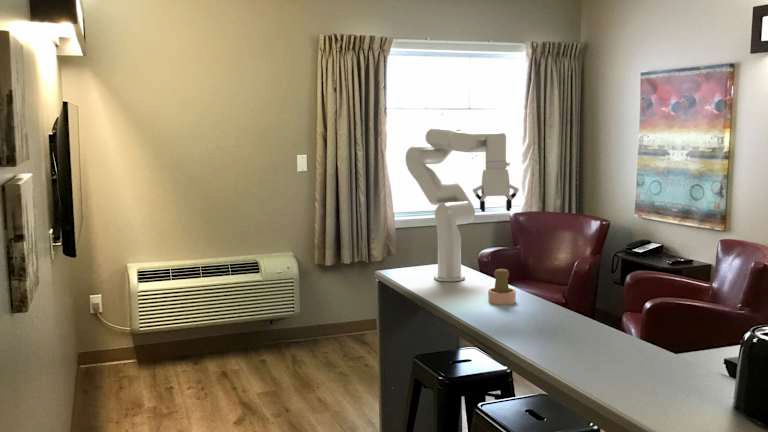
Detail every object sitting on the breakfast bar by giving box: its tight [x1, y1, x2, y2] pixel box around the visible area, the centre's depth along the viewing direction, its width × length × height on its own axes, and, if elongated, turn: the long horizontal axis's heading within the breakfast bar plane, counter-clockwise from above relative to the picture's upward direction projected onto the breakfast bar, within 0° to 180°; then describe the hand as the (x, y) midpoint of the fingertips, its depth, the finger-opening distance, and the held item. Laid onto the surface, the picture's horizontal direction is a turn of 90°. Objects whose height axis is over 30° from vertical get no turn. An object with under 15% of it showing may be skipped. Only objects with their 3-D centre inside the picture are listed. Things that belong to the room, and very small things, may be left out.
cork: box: [493, 268, 510, 293], centre depth 245 cm, size 6×6×11 cm
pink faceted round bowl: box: [487, 287, 517, 306], centre depth 245 cm, size 9×9×4 cm
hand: (495, 211), depth 260 cm, fingers open, 9 cm apart
